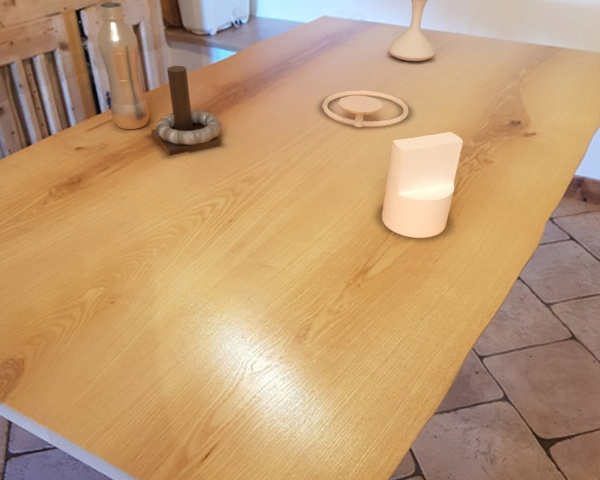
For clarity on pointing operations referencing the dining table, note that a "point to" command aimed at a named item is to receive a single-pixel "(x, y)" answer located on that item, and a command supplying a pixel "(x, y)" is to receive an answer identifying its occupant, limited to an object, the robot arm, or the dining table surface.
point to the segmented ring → (190, 136)
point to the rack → (181, 114)
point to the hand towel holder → (363, 107)
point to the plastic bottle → (122, 68)
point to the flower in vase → (413, 38)
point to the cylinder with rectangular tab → (421, 184)
